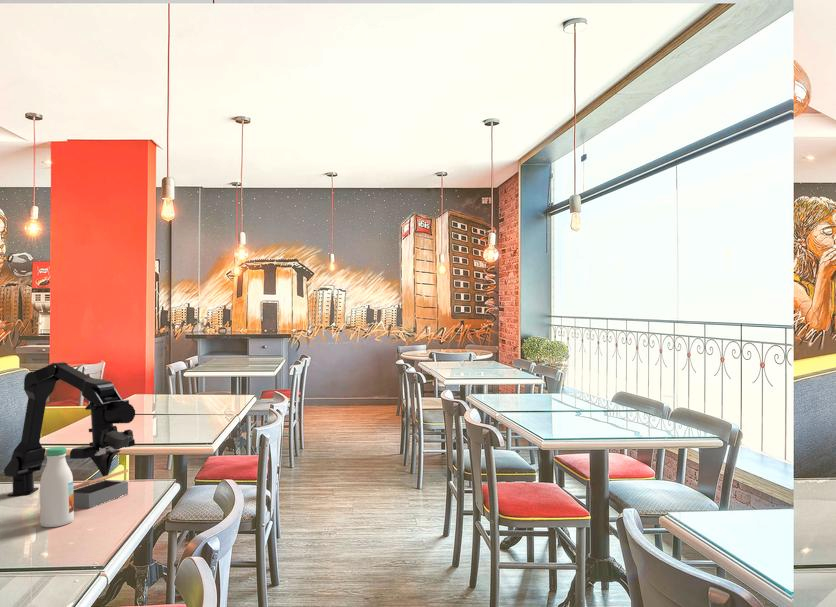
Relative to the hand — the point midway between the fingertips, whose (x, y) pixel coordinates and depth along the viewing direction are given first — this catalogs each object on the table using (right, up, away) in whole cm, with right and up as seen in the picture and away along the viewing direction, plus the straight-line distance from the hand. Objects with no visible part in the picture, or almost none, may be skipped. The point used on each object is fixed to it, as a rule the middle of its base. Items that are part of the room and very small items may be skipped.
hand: (105, 476), depth 181 cm
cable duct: (-3, -8, +1) cm, 8 cm away
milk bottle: (-3, -7, -20) cm, 21 cm away
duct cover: (-3, -2, +1) cm, 3 cm away
